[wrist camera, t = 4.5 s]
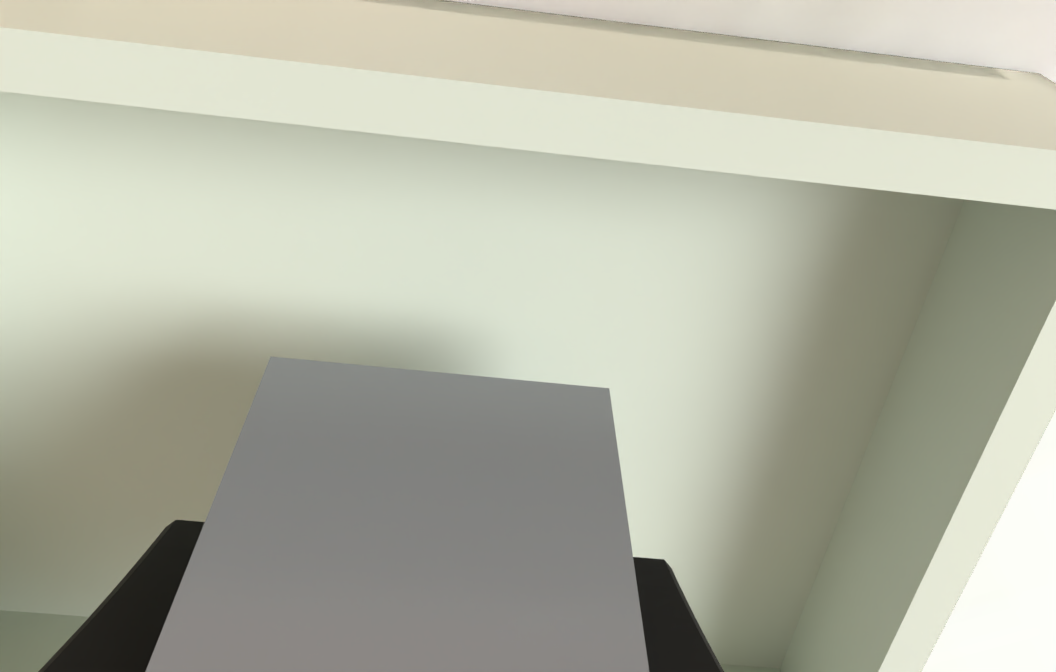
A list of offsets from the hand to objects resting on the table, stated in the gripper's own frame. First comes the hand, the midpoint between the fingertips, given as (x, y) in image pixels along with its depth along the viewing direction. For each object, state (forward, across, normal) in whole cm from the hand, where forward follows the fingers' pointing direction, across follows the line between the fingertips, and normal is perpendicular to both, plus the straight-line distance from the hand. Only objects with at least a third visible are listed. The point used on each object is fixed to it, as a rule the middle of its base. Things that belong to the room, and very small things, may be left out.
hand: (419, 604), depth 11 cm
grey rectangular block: (+2, 0, 0) cm, 2 cm away
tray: (+4, 0, +6) cm, 7 cm away
